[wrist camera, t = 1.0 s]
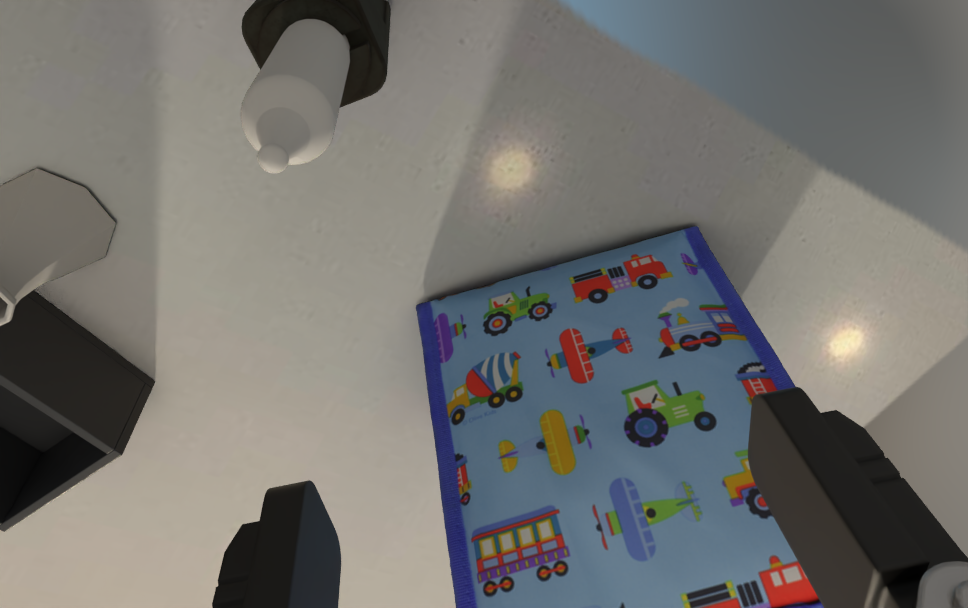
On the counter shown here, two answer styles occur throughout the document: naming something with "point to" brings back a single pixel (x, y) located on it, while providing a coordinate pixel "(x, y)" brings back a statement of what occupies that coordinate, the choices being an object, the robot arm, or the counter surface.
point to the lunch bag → (606, 436)
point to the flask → (46, 234)
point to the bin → (59, 406)
